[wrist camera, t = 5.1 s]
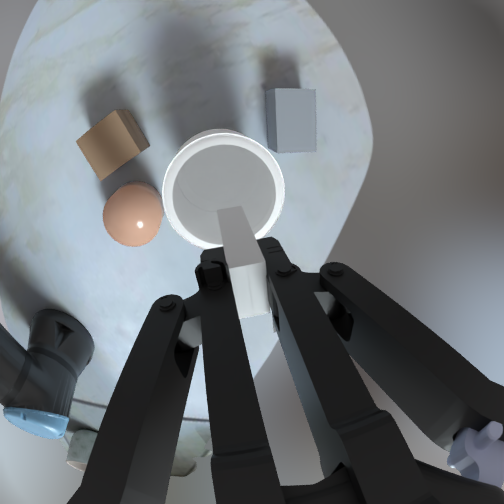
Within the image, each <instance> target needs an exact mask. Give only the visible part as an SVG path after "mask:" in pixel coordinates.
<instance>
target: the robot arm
mask: <svg viewBox="0 0 504 504" xmlns="http://www.w3.org/2000/svg"><path fill="white" fill-rule="evenodd" d="M217 214H218V220H219V226H220V231H221V237H222V242H223V246H222V247H216V248H211V249H206V250H204V251H203V252H202V254H201V255H200V258H201V263H200V264H199V265H198V266H197V267H196V269H195V274H196V278H197V282H198V286H199V291H198V292H197V293H196V294H194V295H193V296H191V297H189V298H186V299H184V300H183V299H182V298H181V297H180V296H178V295H173V294H171V295H165V296H163V297H160V298H159V299H157V300H156V301H155V302H154V303H153V305H152V307H151V309H150V311H149V313H148V315H147V317H146V319H145V321H144V323H143V326H142V328H141V330H140V332H139V334H138V336H137V339H136V341H135V343H134V345H133V347H132V350H131V352H130V354H129V356H128V359H127V361H126V363H125V366H124V368H123V370H122V373H121V375H120V377H119V380H118V382H117V385H116V387H115V389H114V392H113V394H112V397H111V399H110V402H109V404H108V407H107V410H106V412H105V415H104V417H103V420H102V423H101V426H100V428H99V431H98V434H97V437H96V439H95V442H94V445H93V448H92V451H91V454H90V457H89V460H88V463H87V466H86V470H85V473H84V476H83V479H82V483H81V486H80V487H79V488H78V490H77V491H76V492H75V494H74V495H73V496H72V497H71V499H70V500H69V501H68V503H67V504H165V500H166V495H167V490H168V485H169V479H170V475H171V470H172V465H173V460H174V455H175V451H176V446H177V441H178V437H179V432H180V428H181V423H182V419H183V414H184V410H185V406H186V401H187V397H188V393H189V388H190V384H191V380H192V376H193V372H194V368H195V363H196V359H197V355H198V351H199V345H201V344H202V347H203V360H204V372H205V383H206V394H207V404H208V413H209V421H210V430H211V438H212V445H213V455H212V457H211V472H212V479H213V485H214V492H215V498H216V504H504V491H503V490H502V489H501V487H502V485H503V482H504V386H502V385H499V384H497V383H495V382H492V381H490V380H489V379H488V378H487V377H486V376H485V375H483V374H482V373H481V372H480V371H479V370H478V369H477V368H476V367H474V366H473V365H472V364H471V363H470V362H469V361H467V360H466V359H465V358H464V357H463V356H462V355H461V354H459V353H458V352H457V351H456V350H455V349H454V348H452V347H451V346H450V345H449V344H447V343H446V342H445V341H444V340H443V339H442V338H440V337H439V336H438V335H437V334H435V333H434V332H433V331H432V330H431V329H429V328H428V327H427V326H426V325H424V324H423V323H422V322H420V321H419V320H418V319H417V318H416V317H414V316H413V315H412V314H411V313H409V312H408V311H407V310H405V309H404V308H403V307H402V306H400V305H399V304H398V303H396V302H395V301H394V300H393V299H391V298H390V297H389V296H387V295H386V294H385V293H383V292H382V291H381V290H379V289H378V288H377V287H375V286H374V285H373V284H371V283H370V282H369V281H367V280H366V279H365V278H363V277H362V276H361V275H359V274H358V273H357V272H355V271H354V270H353V269H351V268H350V267H348V266H347V265H345V264H343V263H338V262H330V263H326V264H324V265H323V266H322V267H321V268H320V273H306V272H302V271H301V270H300V268H299V267H298V266H297V265H295V264H292V263H291V262H290V260H289V259H288V257H287V255H286V253H285V252H284V251H283V248H282V247H281V245H280V243H279V241H278V240H276V239H275V238H273V237H267V238H261V239H256V238H255V236H254V234H253V231H252V229H251V227H250V224H249V222H248V220H247V217H246V215H245V213H244V210H243V208H242V206H236V207H230V208H225V209H219V210H217ZM270 307H271V310H272V316H273V328H274V332H276V331H277V334H278V337H279V340H280V343H281V346H282V348H283V351H284V354H285V357H286V360H287V363H288V366H289V369H290V372H291V374H292V377H293V380H294V383H295V386H296V389H297V392H298V395H299V397H300V400H301V403H302V406H303V409H304V412H305V415H306V417H307V420H308V423H309V426H310V429H311V432H312V435H313V438H314V440H315V443H316V446H317V449H318V452H319V456H320V463H321V468H322V471H323V475H324V477H325V479H323V480H322V481H320V482H318V483H316V484H313V485H299V486H298V485H296V486H280V482H279V479H278V475H277V471H276V467H275V464H274V460H273V456H272V453H271V449H270V446H269V443H268V439H267V435H266V431H265V427H264V423H263V419H262V415H261V411H260V407H259V403H258V399H257V394H256V390H255V386H254V382H253V377H252V373H251V369H250V365H249V360H248V356H247V351H246V347H245V343H244V338H243V334H242V329H241V325H240V320H239V319H243V318H248V317H253V316H258V315H262V314H267V313H270ZM93 352H94V342H93V339H92V337H91V336H90V334H89V332H88V331H87V330H86V329H85V328H84V327H83V326H82V325H81V324H80V323H79V322H78V321H76V320H75V319H74V318H72V317H71V316H69V315H67V314H65V313H63V312H60V311H57V310H51V309H45V310H41V311H39V312H38V313H36V315H35V316H34V318H33V320H32V322H31V325H30V335H29V342H28V349H27V351H26V350H25V349H24V348H23V347H22V346H21V345H20V344H19V343H18V342H17V341H16V340H15V339H14V338H13V337H12V336H11V334H10V333H9V332H8V331H7V330H6V329H5V328H4V327H3V326H2V325H1V323H0V403H1V404H2V405H3V406H4V407H5V408H4V409H3V411H4V416H5V418H6V419H7V420H8V421H9V422H11V423H12V424H13V425H15V426H17V427H19V428H20V429H22V430H25V431H26V432H29V433H31V434H34V435H37V436H40V437H44V438H48V439H59V438H61V437H63V435H64V434H65V430H66V427H67V424H68V421H69V414H70V409H71V404H72V399H73V395H74V391H75V386H76V382H77V379H78V377H79V375H80V374H81V373H82V371H83V370H84V369H85V367H86V365H88V364H89V362H90V361H91V359H92V356H93ZM349 355H350V356H351V357H352V358H353V359H354V360H355V361H356V362H357V363H358V364H359V365H360V366H361V367H362V368H363V369H364V370H365V372H366V373H367V374H368V375H369V376H370V377H371V378H372V379H373V380H374V381H375V382H376V383H377V384H378V385H379V386H380V387H381V388H382V390H384V392H385V393H386V394H387V395H388V396H389V397H390V398H391V399H392V400H393V401H394V402H395V403H396V404H397V405H398V406H399V407H400V408H401V410H402V411H403V412H404V413H405V414H406V415H407V416H408V417H409V418H410V419H411V420H412V421H413V422H414V423H415V424H416V425H417V426H418V428H419V429H420V430H421V431H422V432H423V433H424V434H425V435H426V436H427V437H428V438H430V440H432V441H433V442H434V443H435V444H437V445H438V446H440V447H441V448H443V449H444V450H446V451H448V452H450V455H449V456H448V459H447V464H448V465H449V467H451V468H456V469H457V470H458V471H460V473H461V475H462V476H459V475H456V474H454V473H450V472H448V471H445V470H442V469H439V468H437V467H434V466H431V465H429V464H426V463H424V462H421V461H419V460H416V459H414V457H413V455H412V453H411V451H410V449H409V447H408V445H407V443H406V441H405V439H404V437H403V435H402V433H401V431H400V429H399V427H398V426H397V424H396V422H395V420H394V419H393V417H392V416H391V414H390V413H389V412H387V411H386V410H380V409H379V408H378V407H377V406H376V404H375V403H374V401H373V399H372V397H371V395H370V393H369V391H368V389H367V387H366V385H365V384H364V382H363V380H362V378H361V376H360V374H359V372H358V370H357V369H356V367H355V365H354V363H353V361H352V359H351V358H350V356H349Z"/></svg>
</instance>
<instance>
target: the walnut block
mask: <svg viewBox="0 0 504 504" xmlns="http://www.w3.org/2000/svg"><path fill="white" fill-rule="evenodd" d="M76 143H77V144H78V146H79V148H80V149H81V151H82V153H83V154H84V156H85V157H86V159H87V161H88V162H89V164H90V165H91V167H92V169H93V170H94V172H95V173H96V175H97V176H98V178H99V179H100V181H102V180H103V179H104V178H106V177H107V176H108V175H110V174H111V173H112V172H114V171H115V170H116V169H118V168H119V167H121V166H122V165H123V164H125V163H126V162H127V161H129V160H130V159H132V158H133V157H135V156H136V155H138V154H139V153H141V152H142V151H143V150H145V149H146V148H148V147H149V146H150V145H149V143H148V141H147V140H146V138H145V137H144V135H143V133H142V132H141V130H140V128H139V127H138V125H137V123H136V122H135V120H134V118H133V117H132V115H131V113H130V112H129V110H114V111H113V112H112V113H110V114H109V115H108V116H106V117H105V118H104V119H102V120H101V121H100V122H99V123H97V124H96V125H95V126H93V127H92V128H91V129H90V130H89V131H87V132H86V133H85V134H84V135H83V136H81V137H80V138H79V139H78V140H77V141H76Z"/></svg>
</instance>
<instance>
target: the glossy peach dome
mask: <svg viewBox="0 0 504 504" xmlns="http://www.w3.org/2000/svg"><path fill="white" fill-rule="evenodd" d="M163 215H164V206H163V200H162V197H161V195H160V194H159V192H158V191H157V190H156V189H155V188H154V187H153V186H151V185H150V184H148V183H145V182H141V181H132V182H128V183H126V184H124V185H122V186H121V187H120V188H119V189H118V190H117V191H116V192H115V193H114V194H113V195H112V196H111V197H110V198H109V199H108V201H107V202H106V204H105V206H104V210H103V222H104V226H105V228H106V230H107V232H108V233H109V235H110V236H111V237H112V238H113V239H114V240H115V241H117V242H119V243H121V244H123V245H126V246H132V247H133V246H141V245H144V244H146V243H148V242H150V241H151V240H152V239H153V238H154V237H155V236H156V234H157V232H158V230H159V228H160V224H161V221H162V218H163Z"/></svg>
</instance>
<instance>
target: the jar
mask: <svg viewBox="0 0 504 504" xmlns="http://www.w3.org/2000/svg"><path fill="white" fill-rule="evenodd" d="M284 199H285V185H284V179H283V175H282V172H281V170H280V167H279V165H278V163H277V162H276V160H275V159H274V157H273V156H272V155H271V154H270V153H269V151H268V150H266V149H265V148H264V147H263V146H262V145H260V144H259V143H257V142H256V141H254V140H252V139H250V138H249V137H247V136H245V135H243V134H241V133H239V132H236V131H233V130H229V129H211V130H206V131H203V132H201V133H198V134H196V135H195V136H193V137H191V138H190V139H189V140H187V141H186V142H185V143H184V144H183V145H182V146H181V148H180V149H179V150H178V152H177V153H176V155H175V157H174V159H173V160H172V162H171V164H170V165H169V167H168V169H167V172H166V174H165V177H164V181H163V187H162V200H163V206H164V210H165V213H166V216H167V218H168V220H169V222H170V224H171V225H172V227H173V228H174V229H175V231H176V232H177V233H178V234H179V235H180V236H181V237H182V238H184V239H185V240H186V241H188V242H189V243H191V244H193V245H194V246H196V247H199V248H201V249H204V250H206V249H211V248H216V247H222V246H223V242H222V237H221V231H220V226H219V220H218V214H217V210H219V209H225V208H230V207H236V206H242V208H243V210H244V213H245V215H246V217H247V220H248V222H249V224H250V227H251V229H252V231H253V234H254V236H255V238H256V239H261V238H263V237H264V236H265V235H266V234H267V233H268V232H269V231H270V230H271V229H272V228H273V226H274V225H275V223H276V222H277V220H278V218H279V216H280V214H281V211H282V208H283V204H284Z"/></svg>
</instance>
